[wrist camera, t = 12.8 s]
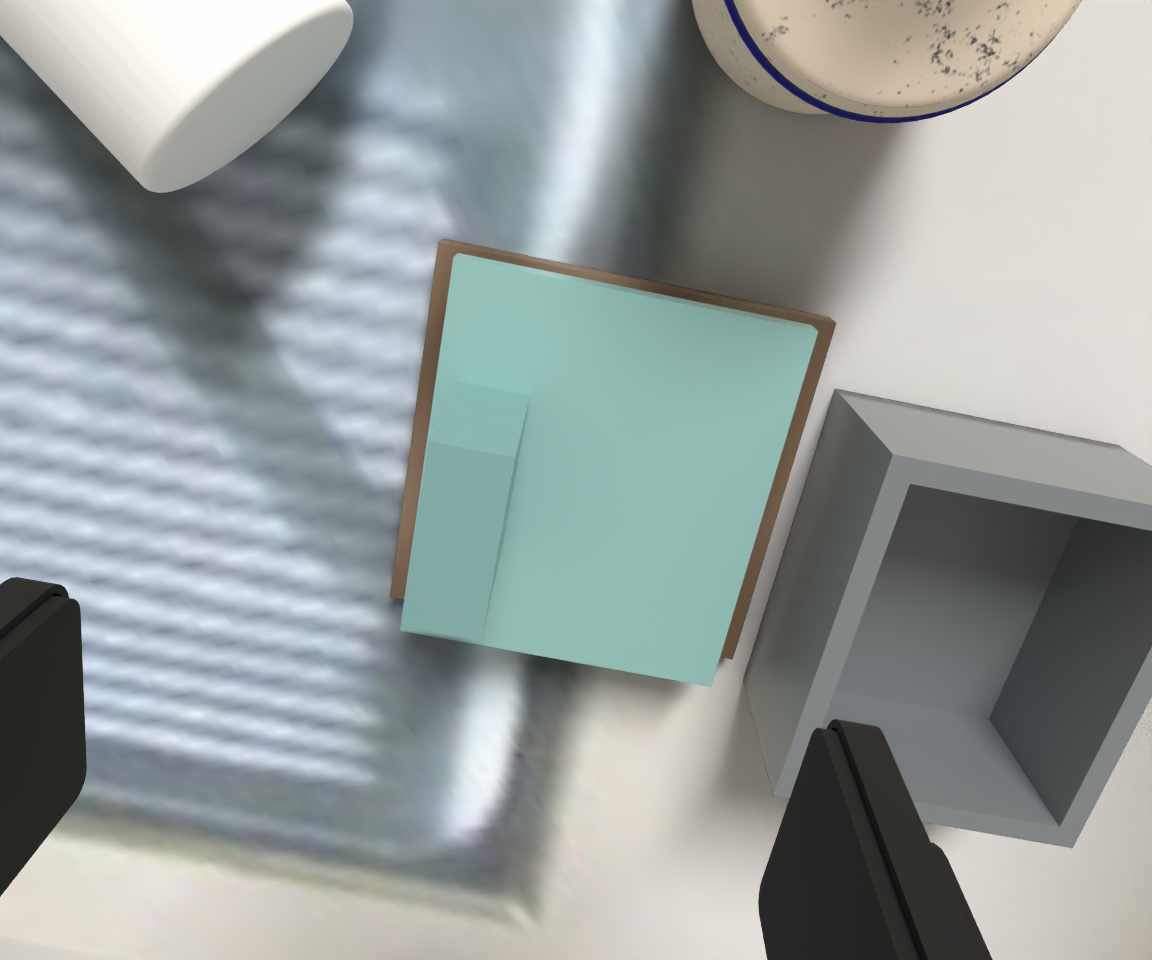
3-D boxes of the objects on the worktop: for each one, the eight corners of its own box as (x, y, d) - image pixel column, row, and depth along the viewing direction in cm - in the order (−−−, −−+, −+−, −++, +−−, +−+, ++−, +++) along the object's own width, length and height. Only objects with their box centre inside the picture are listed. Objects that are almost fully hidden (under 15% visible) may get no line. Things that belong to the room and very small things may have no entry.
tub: (1118, 445, 34) (1241, 522, 27) (992, 725, 39) (1072, 848, 32) (835, 388, 33) (893, 454, 27) (743, 680, 38) (773, 795, 32)
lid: (803, 317, 31) (870, 381, 24) (704, 654, 36) (732, 796, 29) (462, 248, 31) (418, 290, 23) (410, 601, 36) (360, 731, 28)
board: (829, 317, 32) (836, 323, 31) (729, 646, 37) (732, 659, 37) (443, 238, 32) (438, 242, 31) (395, 584, 37) (390, 596, 36)
